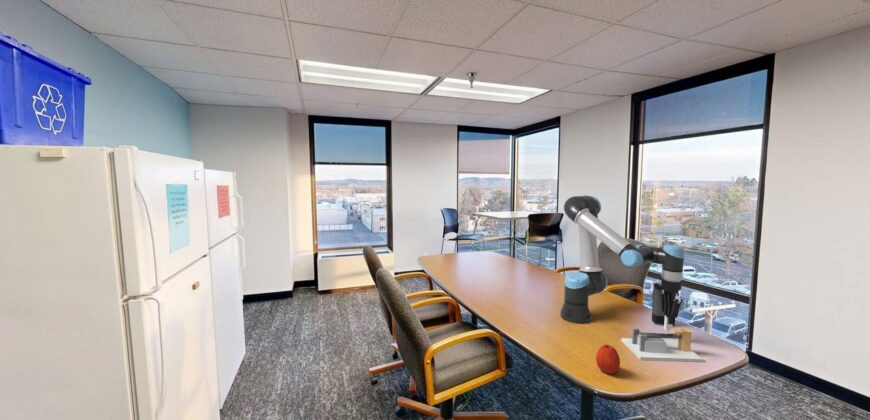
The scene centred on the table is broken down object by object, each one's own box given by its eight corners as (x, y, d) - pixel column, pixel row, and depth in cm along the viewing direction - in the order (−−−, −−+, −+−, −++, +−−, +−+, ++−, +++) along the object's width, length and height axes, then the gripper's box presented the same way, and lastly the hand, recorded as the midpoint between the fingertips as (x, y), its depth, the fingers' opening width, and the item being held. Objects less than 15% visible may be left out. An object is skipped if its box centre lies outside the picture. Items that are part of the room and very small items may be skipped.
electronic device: (671, 322, 167) (674, 284, 165) (675, 327, 161) (678, 287, 159) (650, 319, 170) (652, 282, 168) (654, 324, 164) (656, 286, 162)
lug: (673, 350, 137) (675, 331, 136) (669, 347, 140) (670, 328, 139) (690, 351, 136) (691, 332, 135) (685, 347, 139) (686, 328, 138)
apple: (596, 374, 122) (597, 347, 121) (594, 363, 130) (595, 337, 129) (621, 379, 119) (622, 351, 118) (617, 367, 127) (618, 341, 126)
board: (640, 359, 132) (641, 341, 131) (621, 340, 148) (621, 323, 147) (702, 362, 130) (704, 343, 130) (676, 342, 146) (677, 325, 145)
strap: (640, 339, 137) (641, 336, 137) (635, 334, 141) (635, 331, 141) (682, 340, 136) (682, 337, 136) (675, 335, 140) (675, 332, 140)
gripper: (690, 284, 139) (686, 337, 141) (671, 275, 152) (667, 323, 154) (672, 284, 139) (668, 336, 142) (654, 275, 152) (651, 323, 155)
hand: (668, 329), depth 148 cm, fingers closed
